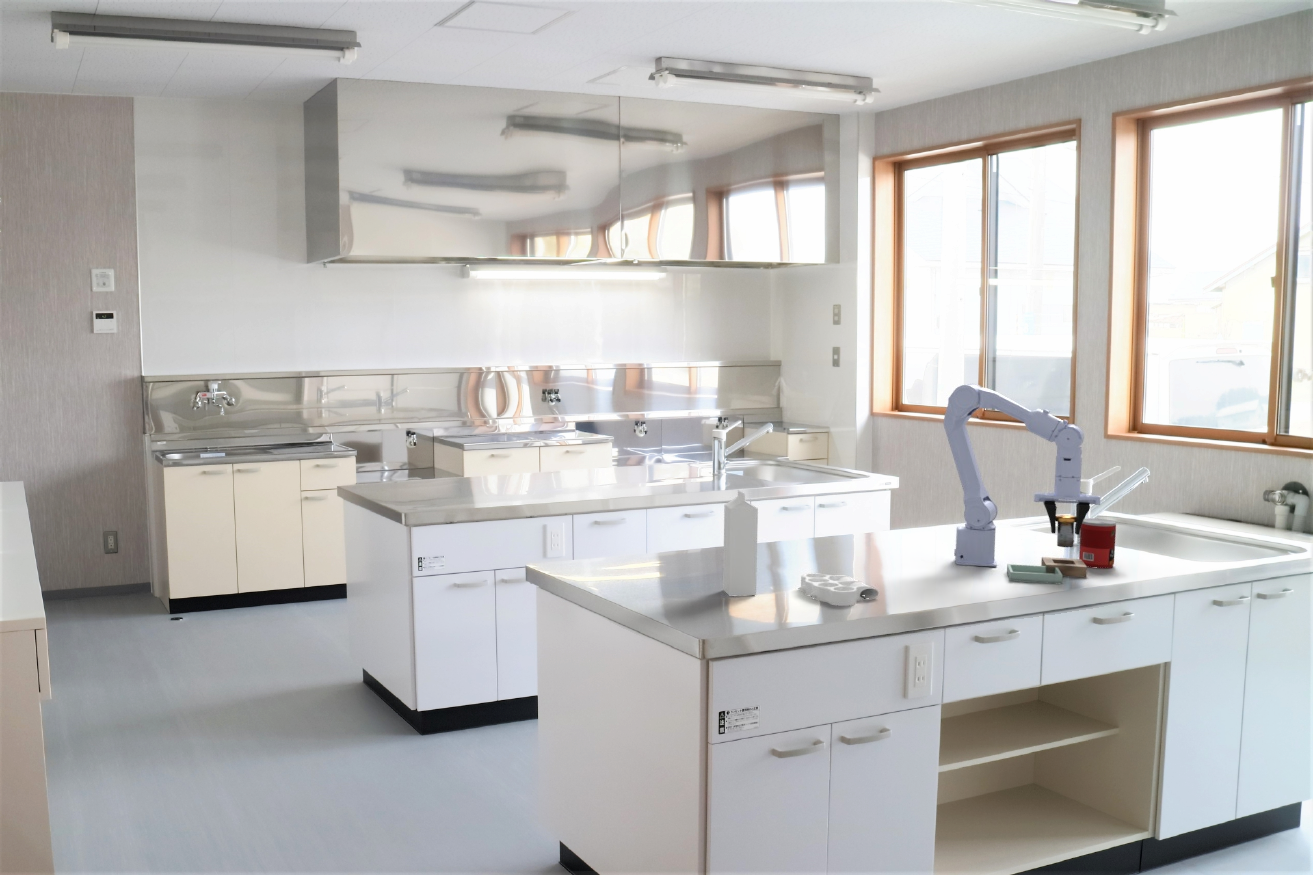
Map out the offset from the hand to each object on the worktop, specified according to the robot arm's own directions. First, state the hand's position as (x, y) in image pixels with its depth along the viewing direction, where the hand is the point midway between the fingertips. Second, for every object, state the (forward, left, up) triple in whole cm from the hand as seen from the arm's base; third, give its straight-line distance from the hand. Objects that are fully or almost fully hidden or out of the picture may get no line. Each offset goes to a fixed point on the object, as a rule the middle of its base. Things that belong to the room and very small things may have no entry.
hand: (1065, 533), depth 256 cm
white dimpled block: (-51, -38, -10) cm, 64 cm away
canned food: (+9, +11, -10) cm, 17 cm away
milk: (-71, -42, -10) cm, 83 cm away
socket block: (0, 0, -9) cm, 9 cm away
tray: (-7, -9, -9) cm, 15 cm away
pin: (0, 0, -3) cm, 3 cm away
